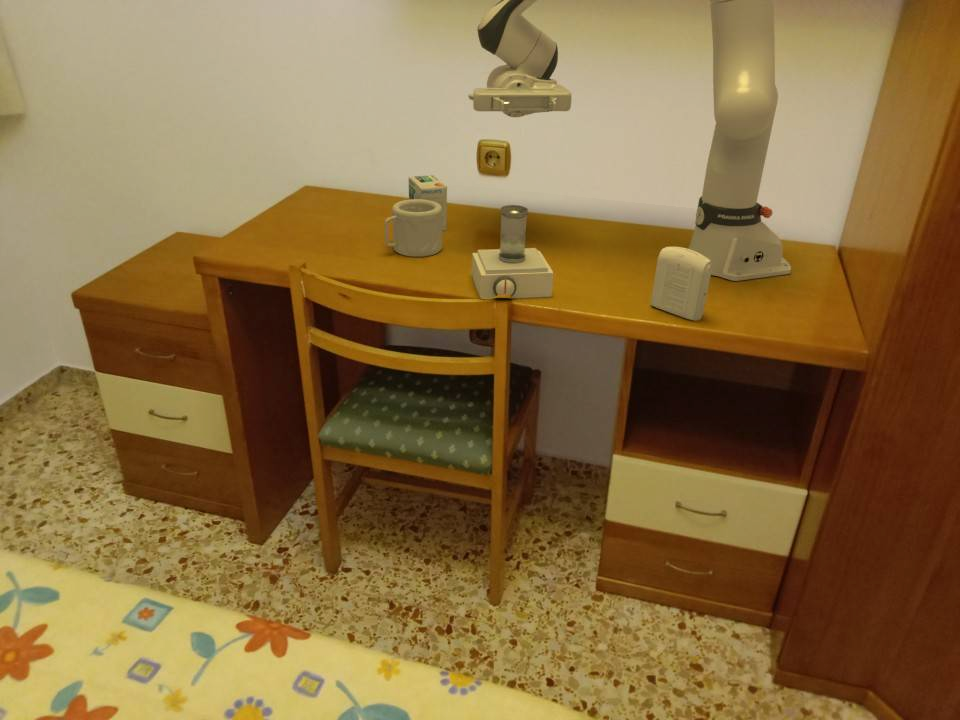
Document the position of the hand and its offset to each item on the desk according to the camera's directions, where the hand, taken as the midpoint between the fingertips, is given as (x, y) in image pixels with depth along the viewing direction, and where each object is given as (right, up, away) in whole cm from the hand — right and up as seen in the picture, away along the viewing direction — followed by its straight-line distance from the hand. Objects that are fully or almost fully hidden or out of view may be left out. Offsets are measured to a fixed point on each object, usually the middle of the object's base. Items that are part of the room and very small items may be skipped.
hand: (528, 107), depth 148 cm
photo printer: (+27, -41, -6) cm, 50 cm away
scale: (-4, -35, +2) cm, 35 cm away
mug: (-25, -26, +19) cm, 40 cm away
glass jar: (-3, -30, 0) cm, 30 cm away
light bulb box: (-22, -17, +34) cm, 45 cm away
